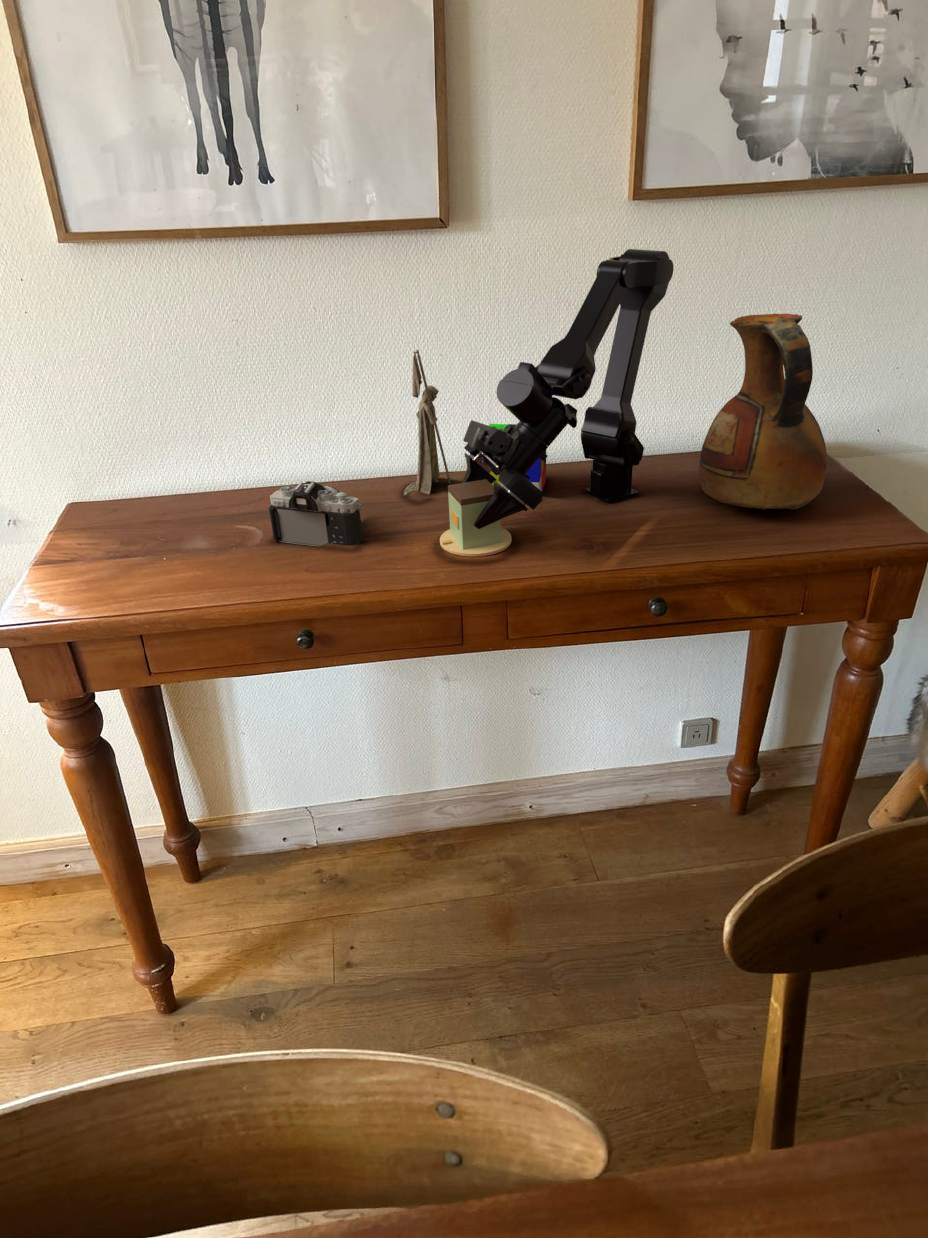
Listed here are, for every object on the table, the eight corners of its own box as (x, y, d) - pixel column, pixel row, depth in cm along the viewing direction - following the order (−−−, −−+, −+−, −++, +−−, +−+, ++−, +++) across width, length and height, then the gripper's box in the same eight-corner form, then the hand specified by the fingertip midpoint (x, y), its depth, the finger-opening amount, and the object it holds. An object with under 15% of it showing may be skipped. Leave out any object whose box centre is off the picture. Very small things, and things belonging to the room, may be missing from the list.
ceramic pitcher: (771, 472, 159) (796, 296, 144) (847, 514, 143) (884, 320, 128) (674, 489, 154) (689, 309, 139) (740, 534, 138) (766, 335, 123)
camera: (379, 531, 144) (374, 472, 139) (355, 555, 137) (349, 493, 132) (294, 521, 149) (285, 464, 144) (266, 544, 141) (257, 484, 136)
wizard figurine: (454, 500, 154) (447, 353, 141) (405, 504, 153) (393, 356, 141) (449, 479, 163) (442, 338, 150) (402, 482, 162) (391, 342, 150)
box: (496, 521, 143) (495, 471, 139) (522, 549, 134) (522, 496, 130) (431, 533, 140) (427, 482, 136) (452, 561, 131) (450, 508, 127)
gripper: (474, 385, 136) (409, 465, 138) (521, 419, 120) (447, 509, 123) (523, 428, 142) (460, 504, 144) (573, 466, 126) (501, 550, 129)
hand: (465, 515), depth 135 cm, fingers open, 9 cm apart
